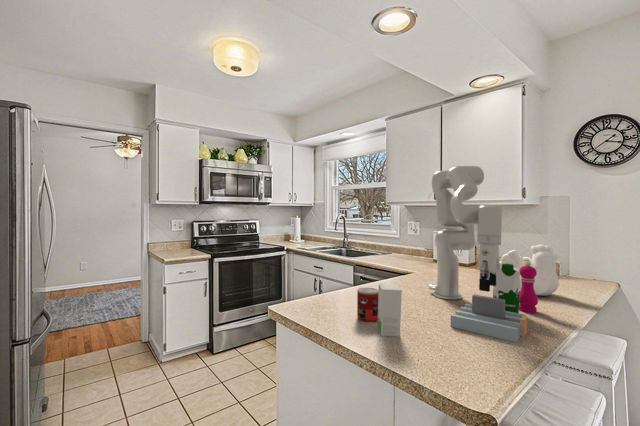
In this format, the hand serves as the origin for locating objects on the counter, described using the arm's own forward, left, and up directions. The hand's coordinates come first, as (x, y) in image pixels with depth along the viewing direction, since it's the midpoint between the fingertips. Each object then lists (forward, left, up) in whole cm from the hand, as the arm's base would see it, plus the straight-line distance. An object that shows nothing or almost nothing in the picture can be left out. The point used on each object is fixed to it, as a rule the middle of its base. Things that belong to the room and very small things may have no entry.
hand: (487, 287), depth 111 cm
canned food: (-36, -22, -14) cm, 44 cm away
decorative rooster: (+4, +64, -14) cm, 65 cm away
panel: (0, 0, -12) cm, 12 cm away
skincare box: (-24, -28, -14) cm, 39 cm away
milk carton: (+2, +20, -14) cm, 24 cm away
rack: (0, 0, -14) cm, 13 cm away
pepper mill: (+8, +30, -14) cm, 34 cm away
